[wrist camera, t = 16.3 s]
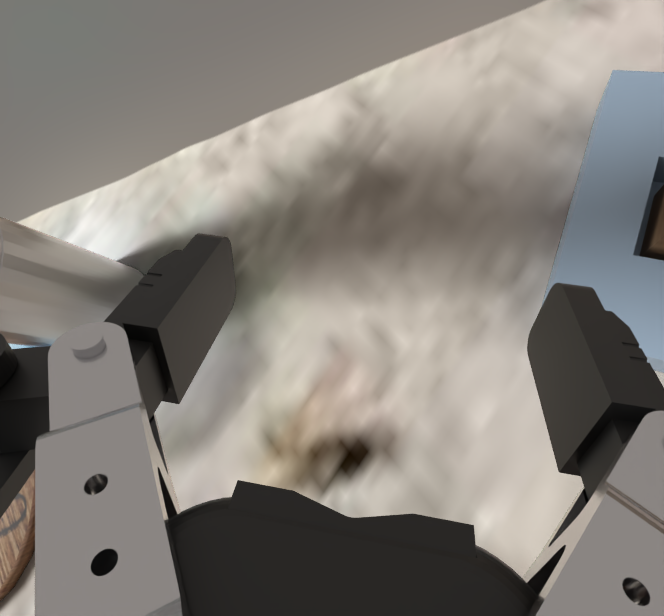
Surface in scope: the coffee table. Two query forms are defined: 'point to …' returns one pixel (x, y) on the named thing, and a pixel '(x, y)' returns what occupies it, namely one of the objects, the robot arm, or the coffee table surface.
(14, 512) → the trivet
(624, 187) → the end cap
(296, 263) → the coffee table surface
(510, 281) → the coffee table surface
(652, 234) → the slat
